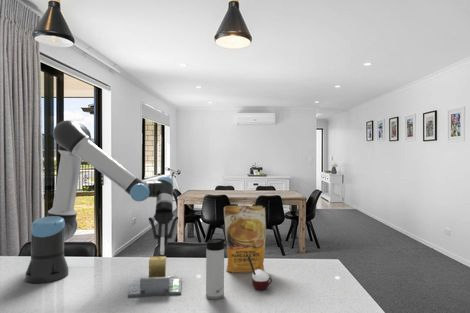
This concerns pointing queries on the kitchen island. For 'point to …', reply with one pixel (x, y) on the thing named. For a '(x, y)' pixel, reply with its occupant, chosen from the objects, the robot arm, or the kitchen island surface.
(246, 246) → the pancake mix bag
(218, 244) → the travel mug
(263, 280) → the cocoa
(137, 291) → the gauge bed
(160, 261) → the brushed brass block
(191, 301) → the kitchen island surface
